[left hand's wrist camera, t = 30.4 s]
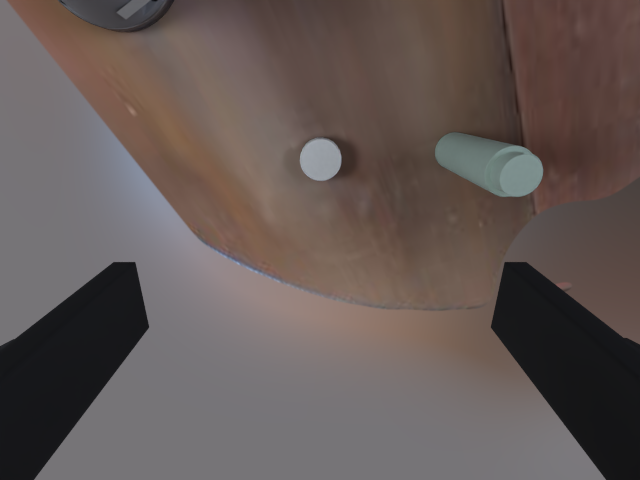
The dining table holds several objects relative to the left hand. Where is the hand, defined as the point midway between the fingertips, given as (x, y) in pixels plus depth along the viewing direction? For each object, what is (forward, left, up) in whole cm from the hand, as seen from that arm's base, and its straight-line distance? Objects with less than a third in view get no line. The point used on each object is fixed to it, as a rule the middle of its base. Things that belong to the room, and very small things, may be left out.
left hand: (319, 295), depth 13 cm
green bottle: (+17, 0, -36) cm, 40 cm away
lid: (0, 0, -34) cm, 34 cm away
